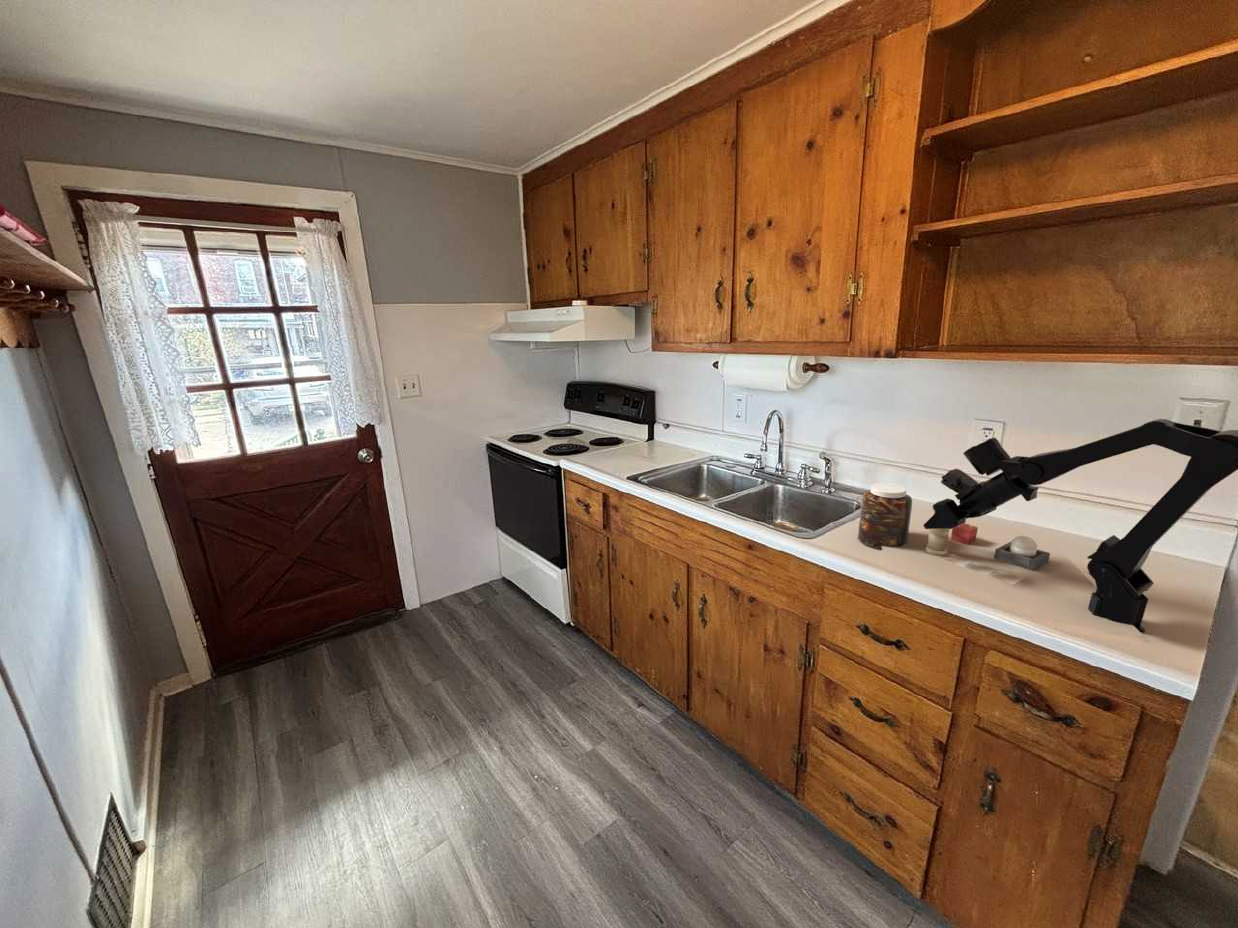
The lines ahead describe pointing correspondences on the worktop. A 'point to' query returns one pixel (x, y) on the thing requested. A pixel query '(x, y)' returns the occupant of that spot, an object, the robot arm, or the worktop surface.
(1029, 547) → the dome
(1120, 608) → the robot arm
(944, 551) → the pawn
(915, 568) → the worktop surface
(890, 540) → the jar
